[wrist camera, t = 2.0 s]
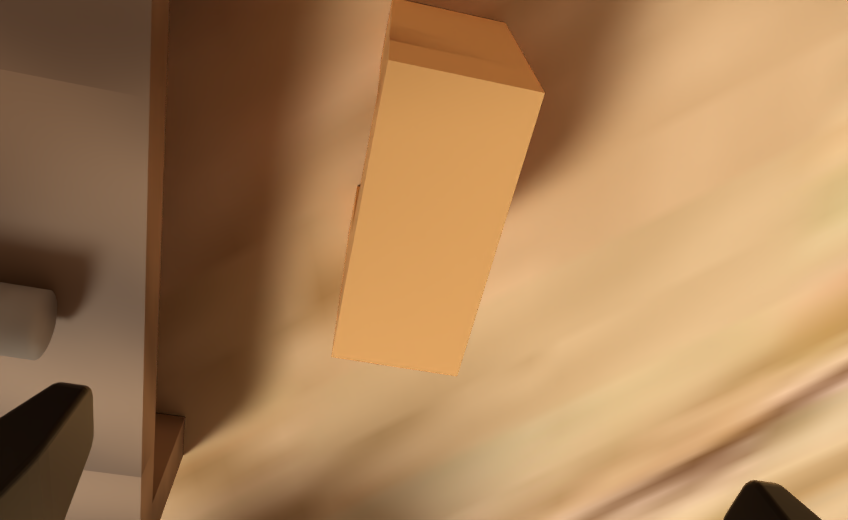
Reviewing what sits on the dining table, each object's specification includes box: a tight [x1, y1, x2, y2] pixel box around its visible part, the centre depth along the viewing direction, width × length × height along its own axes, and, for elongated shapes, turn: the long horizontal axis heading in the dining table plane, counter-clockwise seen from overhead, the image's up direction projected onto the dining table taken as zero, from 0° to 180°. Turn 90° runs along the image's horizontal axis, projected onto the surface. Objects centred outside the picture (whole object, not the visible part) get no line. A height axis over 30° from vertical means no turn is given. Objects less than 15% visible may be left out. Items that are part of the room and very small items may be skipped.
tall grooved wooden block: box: [331, 0, 545, 376], centre depth 17 cm, size 7×3×6 cm, turn 168°
